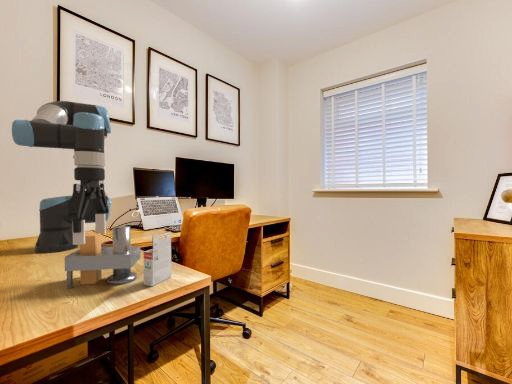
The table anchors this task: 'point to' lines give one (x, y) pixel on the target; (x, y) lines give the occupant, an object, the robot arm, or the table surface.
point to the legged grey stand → (107, 259)
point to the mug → (107, 244)
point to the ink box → (158, 260)
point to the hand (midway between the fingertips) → (90, 238)
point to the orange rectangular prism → (91, 247)
